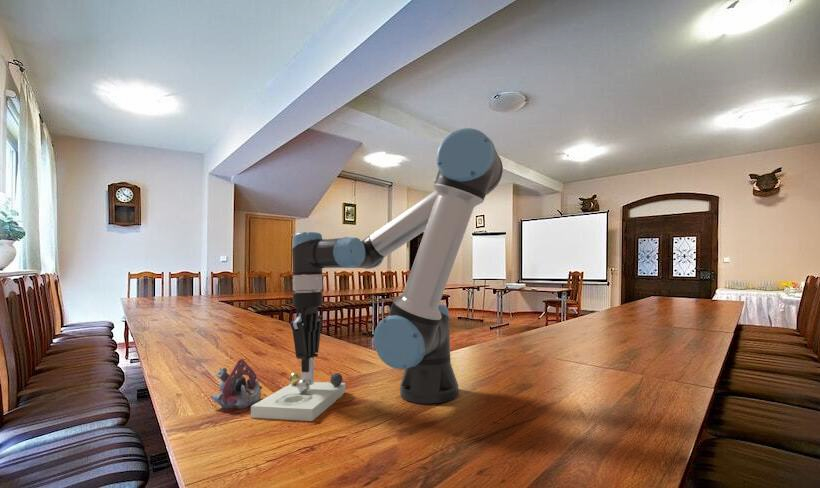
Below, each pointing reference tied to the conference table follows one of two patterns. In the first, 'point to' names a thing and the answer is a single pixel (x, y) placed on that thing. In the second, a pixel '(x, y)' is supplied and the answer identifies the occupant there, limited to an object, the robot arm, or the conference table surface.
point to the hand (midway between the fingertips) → (307, 383)
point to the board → (298, 402)
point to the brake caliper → (237, 387)
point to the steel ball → (303, 385)
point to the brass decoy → (294, 378)
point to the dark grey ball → (336, 379)
